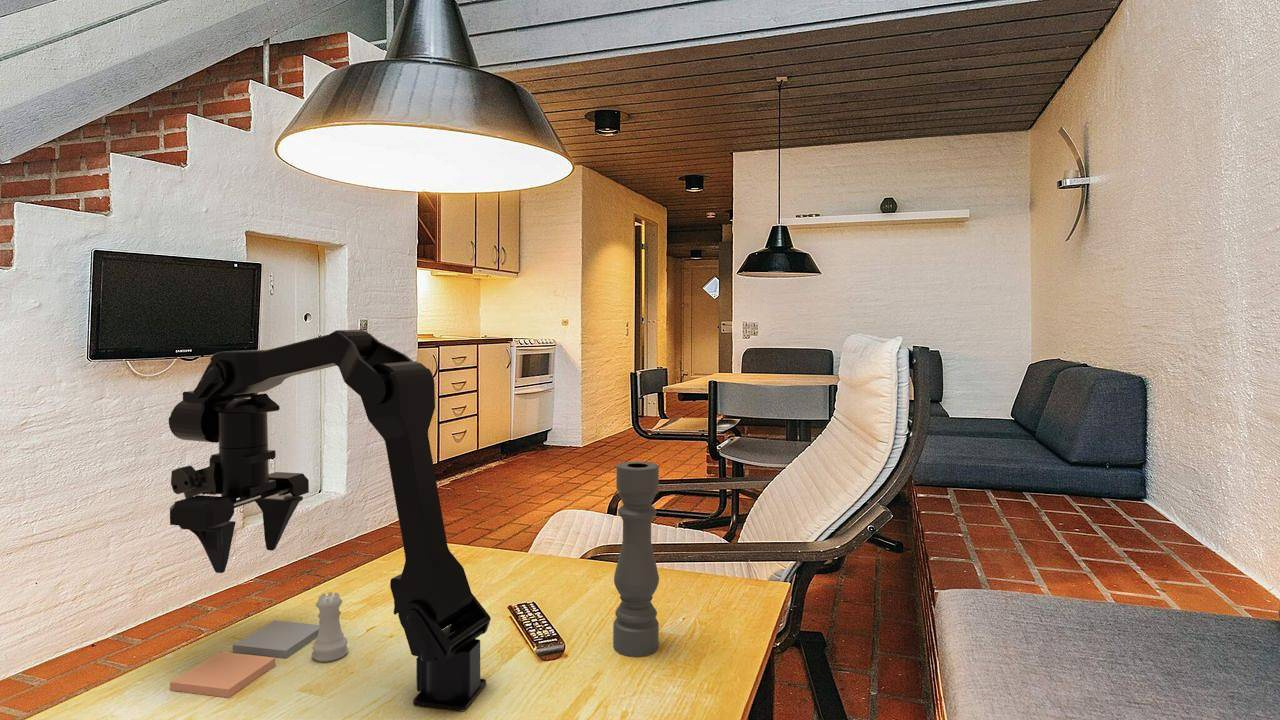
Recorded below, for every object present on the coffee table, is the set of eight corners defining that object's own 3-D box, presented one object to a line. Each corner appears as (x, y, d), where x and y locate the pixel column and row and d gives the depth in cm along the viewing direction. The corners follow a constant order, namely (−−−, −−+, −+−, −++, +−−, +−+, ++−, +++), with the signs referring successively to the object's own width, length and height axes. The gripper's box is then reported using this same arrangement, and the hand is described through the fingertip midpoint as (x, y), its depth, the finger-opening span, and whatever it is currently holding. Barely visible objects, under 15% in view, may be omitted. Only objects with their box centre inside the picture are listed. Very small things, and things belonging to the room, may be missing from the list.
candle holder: (605, 651, 96) (607, 467, 95) (623, 633, 102) (625, 459, 101) (648, 660, 94) (650, 472, 93) (664, 640, 100) (667, 463, 98)
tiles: (324, 632, 102) (324, 625, 101) (228, 697, 84) (228, 689, 84) (274, 626, 103) (274, 620, 103) (169, 690, 85) (169, 682, 85)
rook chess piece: (337, 644, 98) (336, 586, 97) (354, 654, 95) (353, 595, 95) (305, 656, 94) (304, 596, 94) (321, 666, 92) (320, 605, 91)
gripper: (243, 432, 106) (245, 536, 107) (129, 455, 88) (133, 580, 88) (310, 435, 104) (312, 541, 104) (208, 459, 85) (211, 588, 86)
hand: (246, 560), depth 96 cm, fingers open, 9 cm apart
